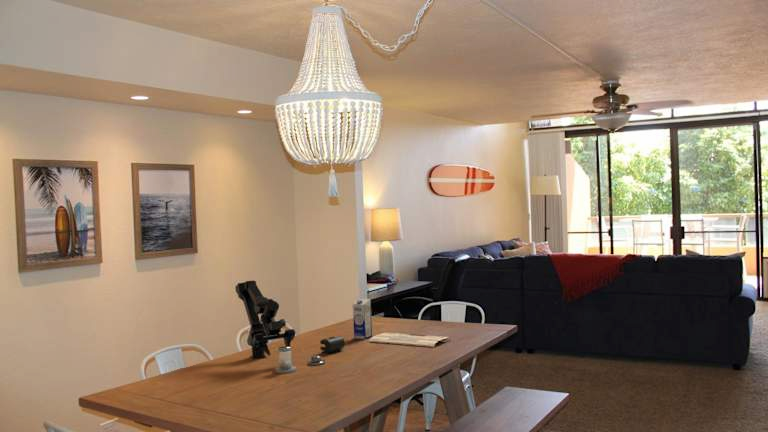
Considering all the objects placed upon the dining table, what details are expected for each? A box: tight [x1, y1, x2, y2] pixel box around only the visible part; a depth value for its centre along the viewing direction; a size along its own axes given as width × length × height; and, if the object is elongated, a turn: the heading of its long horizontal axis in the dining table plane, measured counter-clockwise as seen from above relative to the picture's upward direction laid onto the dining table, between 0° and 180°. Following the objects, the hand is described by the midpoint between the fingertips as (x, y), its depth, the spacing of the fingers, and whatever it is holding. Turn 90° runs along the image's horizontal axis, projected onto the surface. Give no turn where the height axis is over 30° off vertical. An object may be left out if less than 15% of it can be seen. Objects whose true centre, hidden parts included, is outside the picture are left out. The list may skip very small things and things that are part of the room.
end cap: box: [320, 335, 346, 354], centre depth 321 cm, size 10×7×7 cm
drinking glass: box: [278, 345, 293, 370], centre depth 288 cm, size 5×5×9 cm
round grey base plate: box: [306, 355, 326, 367], centre depth 299 cm, size 8×8×3 cm
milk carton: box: [352, 298, 373, 340], centre depth 351 cm, size 7×7×20 cm
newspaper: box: [368, 332, 452, 348], centre depth 336 cm, size 37×19×3 cm, turn 58°
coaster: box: [274, 365, 297, 374], centre depth 288 cm, size 9×9×1 cm
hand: (279, 353), depth 293 cm, fingers open, 9 cm apart
